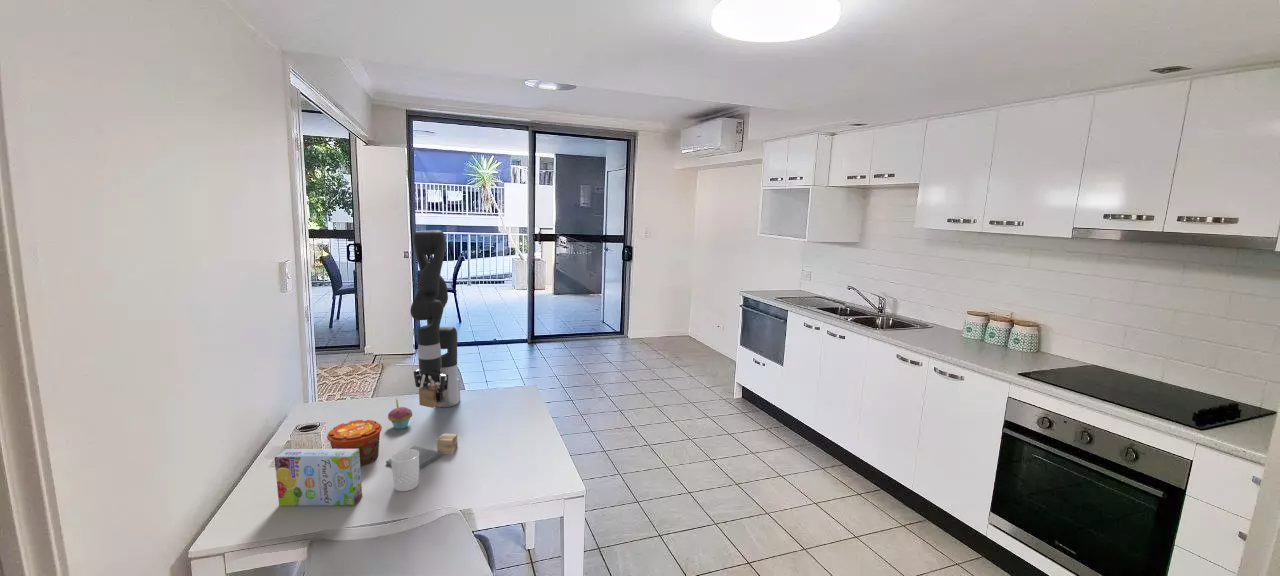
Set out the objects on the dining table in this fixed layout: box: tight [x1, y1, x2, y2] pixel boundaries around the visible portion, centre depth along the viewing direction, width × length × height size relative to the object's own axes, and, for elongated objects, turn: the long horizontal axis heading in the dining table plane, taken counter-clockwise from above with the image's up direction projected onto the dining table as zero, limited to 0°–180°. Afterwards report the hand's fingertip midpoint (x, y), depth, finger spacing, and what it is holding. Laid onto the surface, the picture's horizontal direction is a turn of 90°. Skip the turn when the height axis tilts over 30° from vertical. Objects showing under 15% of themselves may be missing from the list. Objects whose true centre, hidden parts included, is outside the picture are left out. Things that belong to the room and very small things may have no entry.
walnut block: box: [418, 383, 445, 409], centre depth 191 cm, size 6×6×6 cm
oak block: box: [436, 433, 458, 455], centre depth 184 cm, size 5×5×5 cm
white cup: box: [390, 448, 420, 492], centre depth 161 cm, size 8×8×10 cm
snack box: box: [274, 448, 363, 507], centre depth 152 cm, size 21×6×15 cm, turn 92°
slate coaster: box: [385, 445, 443, 470], centre depth 177 cm, size 12×12×1 cm
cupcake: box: [387, 397, 413, 430], centre depth 202 cm, size 9×8×12 cm
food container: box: [326, 419, 383, 467], centre depth 177 cm, size 16×16×11 cm
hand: (432, 400), depth 191 cm, fingers closed on walnut block, 6 cm apart
